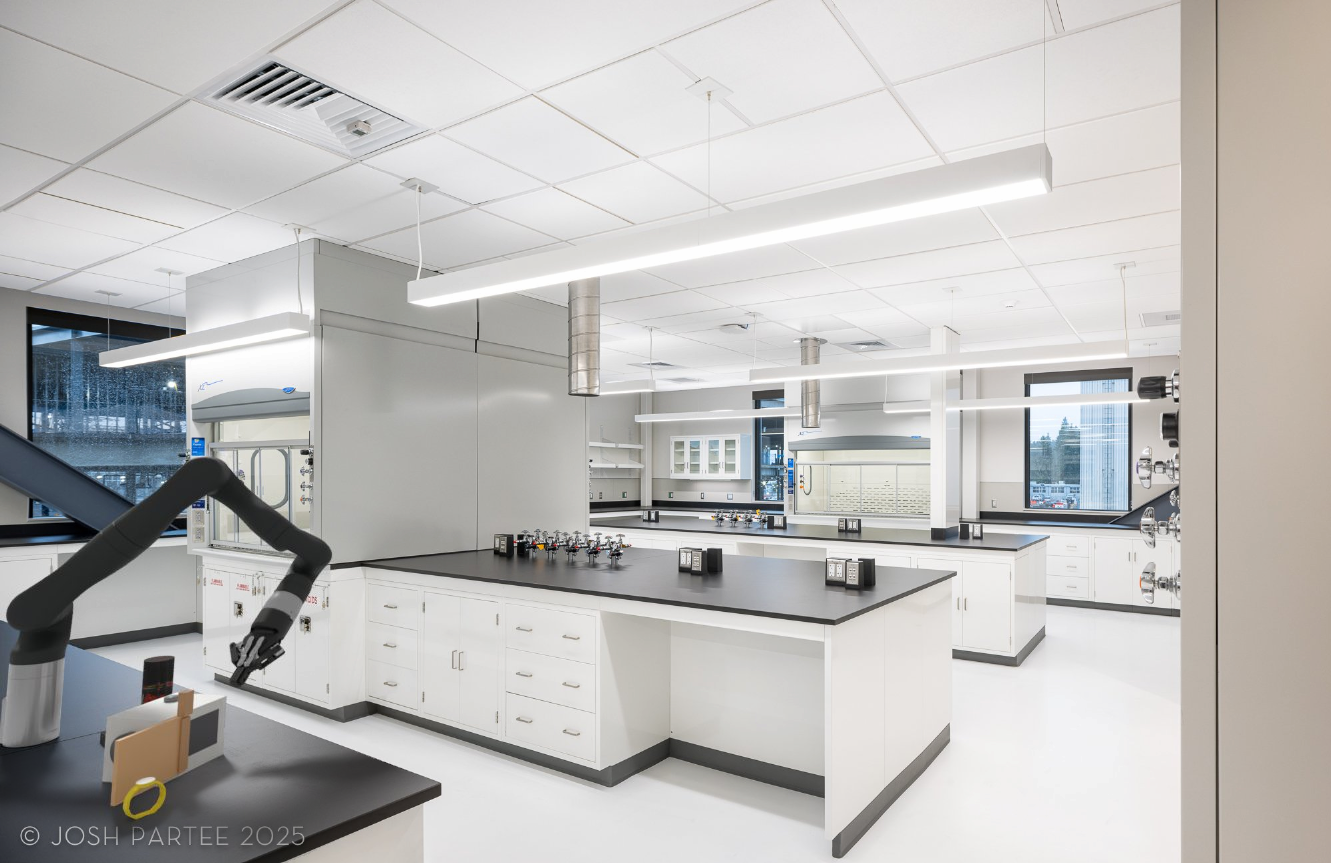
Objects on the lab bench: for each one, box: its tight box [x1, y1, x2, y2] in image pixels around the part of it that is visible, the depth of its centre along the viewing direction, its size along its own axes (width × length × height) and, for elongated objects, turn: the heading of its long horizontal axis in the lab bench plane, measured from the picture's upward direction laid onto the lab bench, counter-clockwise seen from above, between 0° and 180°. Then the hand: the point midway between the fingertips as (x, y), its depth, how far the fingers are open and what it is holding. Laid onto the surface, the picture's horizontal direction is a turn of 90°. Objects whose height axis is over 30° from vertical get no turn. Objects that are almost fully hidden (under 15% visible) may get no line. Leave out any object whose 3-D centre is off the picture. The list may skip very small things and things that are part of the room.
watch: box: [122, 777, 167, 820], centre depth 121 cm, size 6×3×6 cm, turn 151°
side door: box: [110, 689, 195, 807], centre depth 130 cm, size 2×15×16 cm, turn 171°
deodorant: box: [140, 655, 176, 705], centre depth 165 cm, size 6×6×15 cm
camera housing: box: [102, 692, 228, 788], centre depth 140 cm, size 12×18×13 cm
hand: (234, 685), depth 149 cm, fingers closed
